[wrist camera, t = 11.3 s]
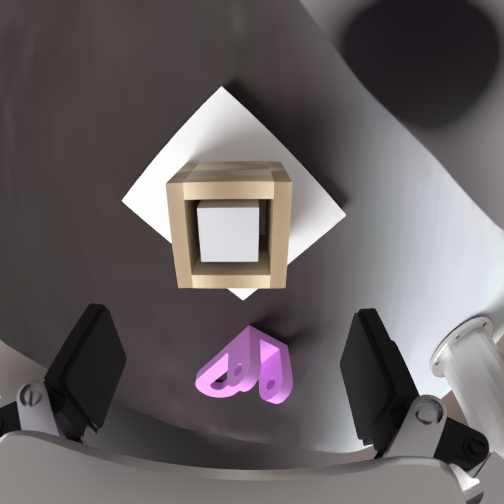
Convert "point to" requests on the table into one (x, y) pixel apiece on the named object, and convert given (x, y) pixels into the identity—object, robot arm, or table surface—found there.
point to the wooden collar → (230, 187)
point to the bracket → (249, 368)
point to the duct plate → (233, 145)
